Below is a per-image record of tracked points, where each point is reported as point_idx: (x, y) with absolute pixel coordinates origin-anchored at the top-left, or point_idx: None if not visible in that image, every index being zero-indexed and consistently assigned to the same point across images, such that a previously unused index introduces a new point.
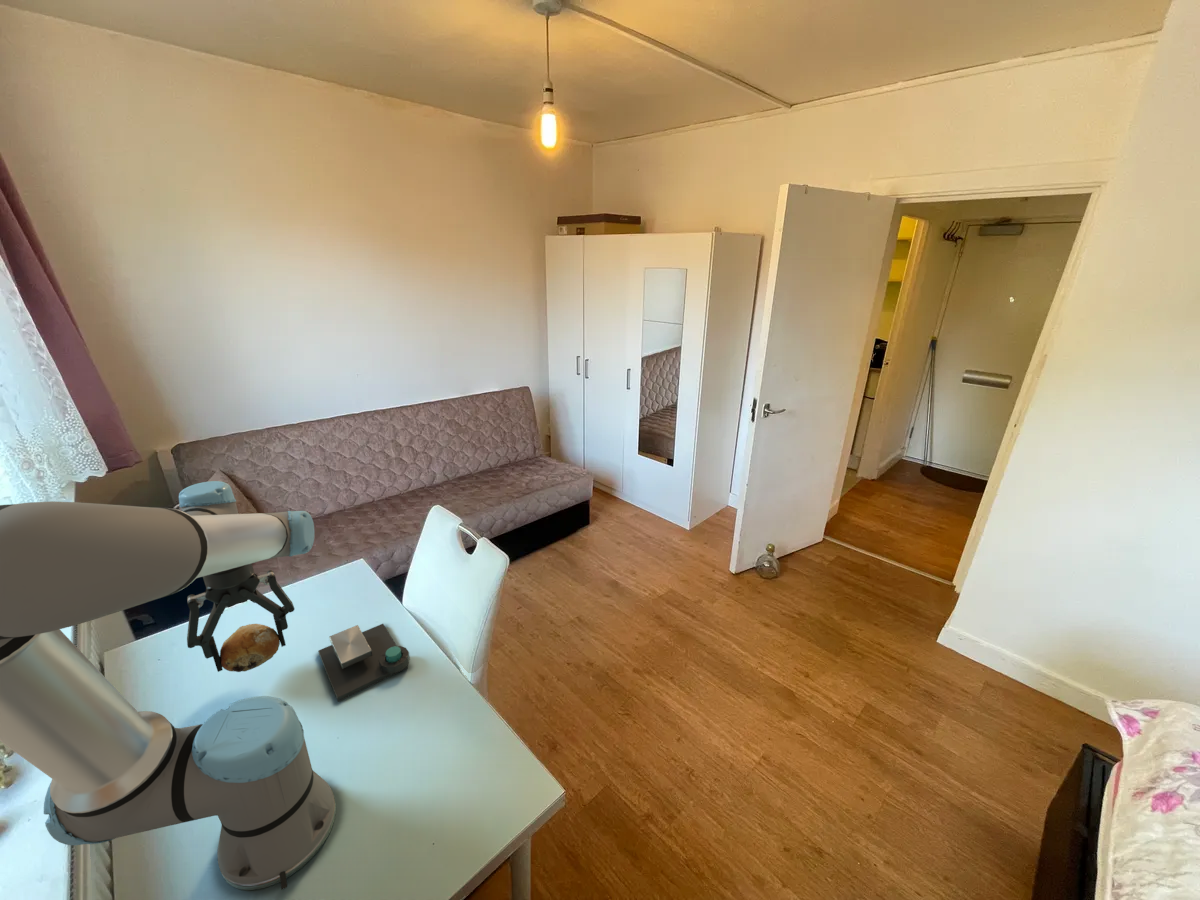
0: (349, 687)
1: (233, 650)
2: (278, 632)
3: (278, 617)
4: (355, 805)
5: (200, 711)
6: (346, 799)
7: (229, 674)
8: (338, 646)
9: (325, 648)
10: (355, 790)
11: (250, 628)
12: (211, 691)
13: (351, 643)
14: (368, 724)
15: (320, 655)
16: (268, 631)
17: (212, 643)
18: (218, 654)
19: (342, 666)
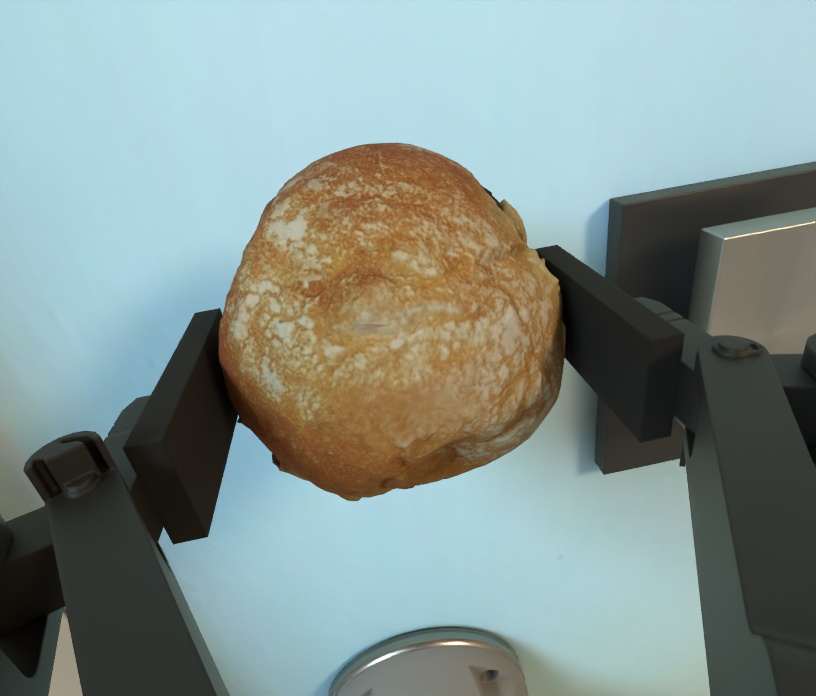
0: (647, 452)
1: (330, 485)
2: (588, 380)
3: (685, 447)
4: (547, 676)
5: (156, 319)
6: (536, 666)
7: (222, 123)
8: (725, 333)
9: (652, 207)
10: (555, 657)
11: (454, 408)
12: (165, 214)
13: (773, 339)
14: (631, 547)
15: (621, 246)
16: (547, 403)
17: (192, 533)
18: (215, 383)
19: (682, 424)
